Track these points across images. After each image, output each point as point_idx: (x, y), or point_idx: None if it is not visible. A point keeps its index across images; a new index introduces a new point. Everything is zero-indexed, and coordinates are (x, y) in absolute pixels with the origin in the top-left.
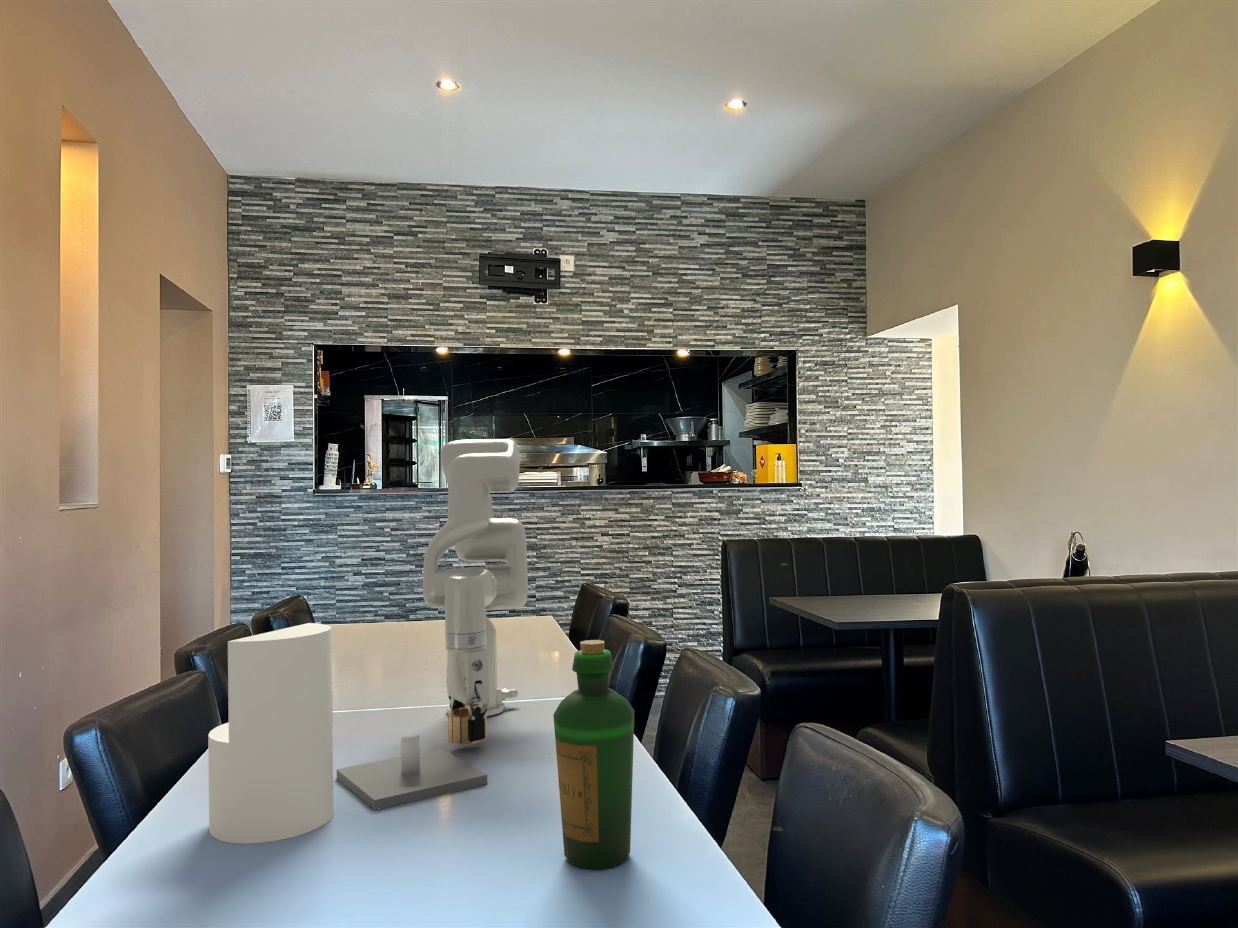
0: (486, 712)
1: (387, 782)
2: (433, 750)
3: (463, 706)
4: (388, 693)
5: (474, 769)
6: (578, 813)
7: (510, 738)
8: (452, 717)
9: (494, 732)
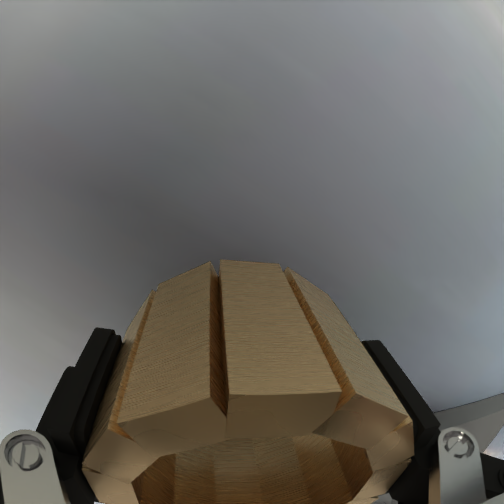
0: (349, 375)
1: None
2: None
3: (55, 456)
4: None
5: (483, 419)
6: None
7: (223, 50)
8: None
9: (54, 68)
